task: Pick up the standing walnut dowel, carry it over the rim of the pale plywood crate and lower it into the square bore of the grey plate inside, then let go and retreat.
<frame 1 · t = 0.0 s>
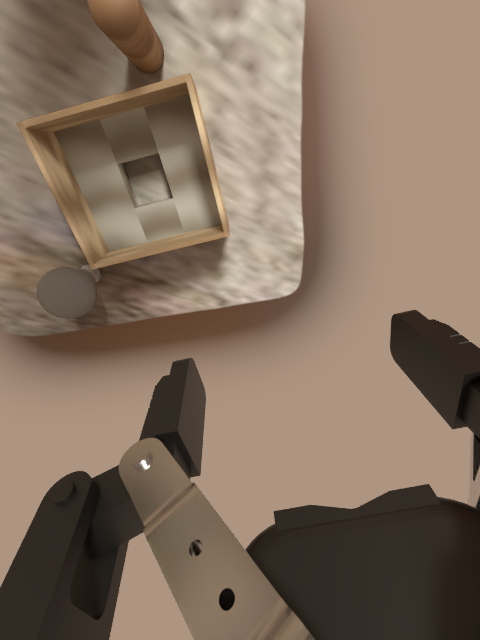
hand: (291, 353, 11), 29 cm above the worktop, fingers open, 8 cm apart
peg: (146, 51, 28), on the worktop
light bulb: (92, 271, 39), on the worktop
crate: (149, 180, 34), on the worktop
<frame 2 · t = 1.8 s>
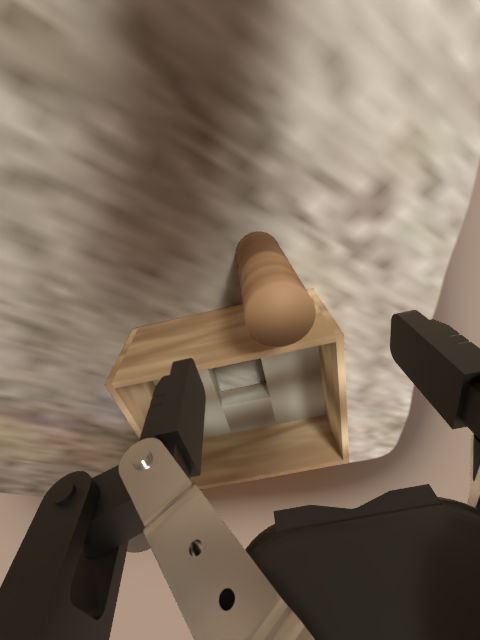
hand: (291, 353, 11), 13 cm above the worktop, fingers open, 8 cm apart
peg: (257, 253, 22), on the worktop
light bulb: (156, 445, 33), on the worktop
crate: (239, 369, 28), on the worktop
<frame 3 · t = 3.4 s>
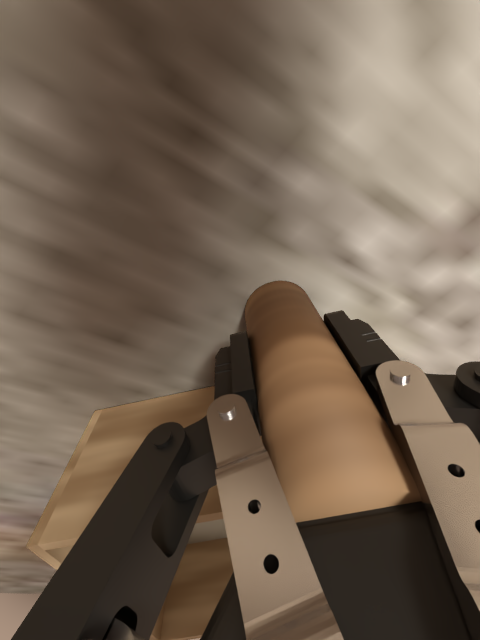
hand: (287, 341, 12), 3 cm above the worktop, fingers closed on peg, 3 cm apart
peg: (277, 311, 15), on the worktop, touching gripper
crate: (246, 455, 20), on the worktop
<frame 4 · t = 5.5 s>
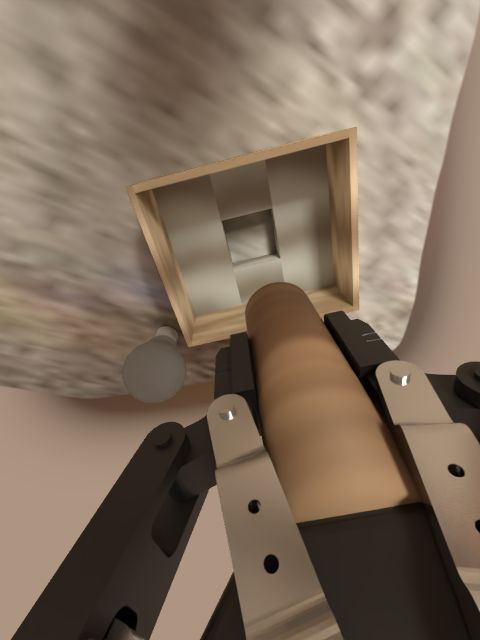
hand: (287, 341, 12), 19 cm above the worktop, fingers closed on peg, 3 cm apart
peg: (277, 312, 15), point 16 cm above the worktop, touching gripper
light bulb: (167, 332, 34), on the worktop
crate: (250, 235, 29), on the worktop
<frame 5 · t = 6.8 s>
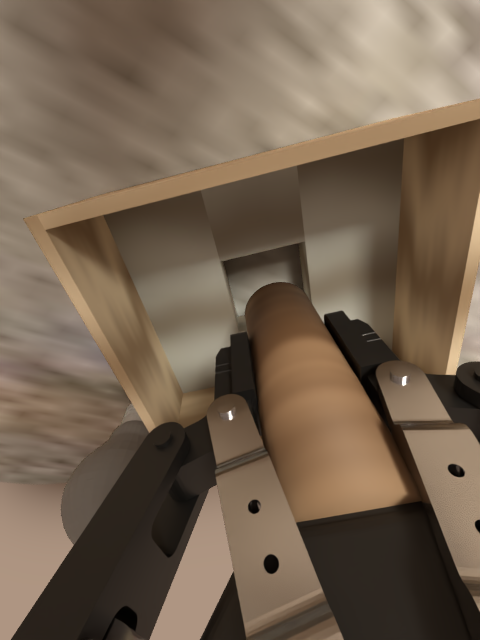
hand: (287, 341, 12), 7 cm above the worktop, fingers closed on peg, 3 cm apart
peg: (277, 312, 15), point 5 cm above the worktop, touching gripper
light bulb: (144, 406, 24), on the worktop
crate: (265, 278, 19), on the worktop
when the fingers open (4 cm above the worktop, at t = 7.7 s): peg drops 1 cm, resting in crate.
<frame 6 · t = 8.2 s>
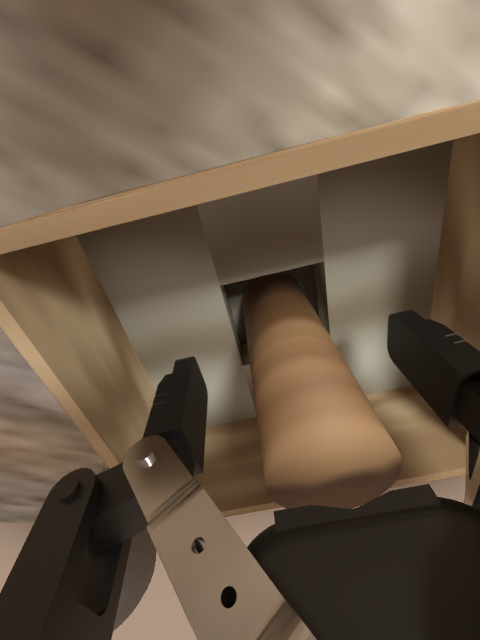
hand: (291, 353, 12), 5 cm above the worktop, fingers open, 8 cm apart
peg: (272, 301, 16), resting in crate
light bulb: (134, 441, 21), on the worktop
crate: (273, 301, 16), on the worktop
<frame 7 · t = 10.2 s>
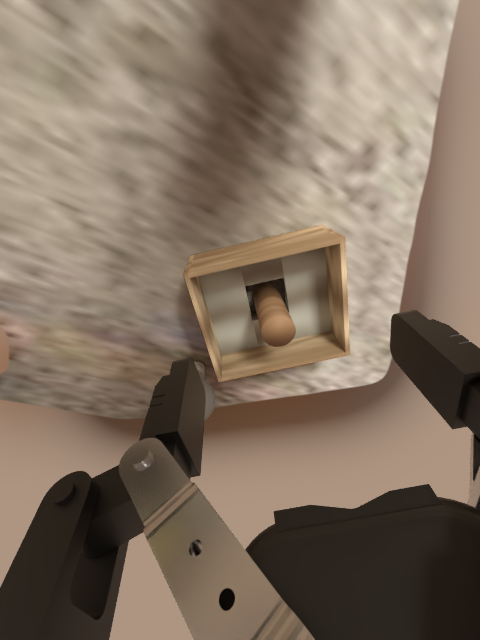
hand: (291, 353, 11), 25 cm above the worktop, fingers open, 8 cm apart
peg: (265, 293, 37), resting in crate
light bulb: (196, 365, 42), on the worktop
crate: (265, 293, 37), on the worktop
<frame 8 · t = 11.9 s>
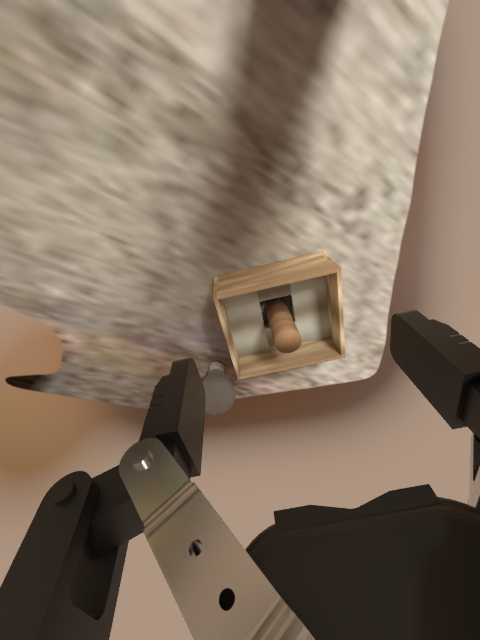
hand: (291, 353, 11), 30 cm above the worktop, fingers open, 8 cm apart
peg: (275, 306, 44), resting in crate
light bulb: (216, 365, 50), on the worktop
crate: (275, 306, 44), on the worktop
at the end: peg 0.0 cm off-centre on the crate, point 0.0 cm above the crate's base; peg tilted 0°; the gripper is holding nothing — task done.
